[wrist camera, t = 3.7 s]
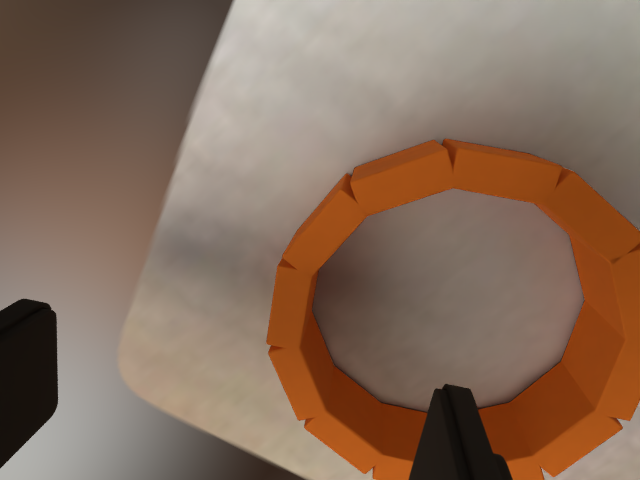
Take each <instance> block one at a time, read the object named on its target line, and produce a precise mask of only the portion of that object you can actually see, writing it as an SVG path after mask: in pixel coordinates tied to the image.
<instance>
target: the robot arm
mask: <svg viewBox="0 0 640 480" xmlns="http://www.w3.org/2000/svg"><path fill="white" fill-rule="evenodd" d="M56 325H57V321H56V313H55V312H54V311H53V310H51V307H50V305H49V304H47V303H43V302H39V301H34V300H29V299H21V300H18V301H17V302H15V303H13V304H12V305H10V306H8V307H6V308H5V309H3V310H1V311H0V468H1V467H2V466H3V465H4V464H5V463H6V462H7V461H8V460H9V459H10V458H11V457H12V456H13V455H14V454H15V453H16V452H17V451H18V450H19V449H20V448H21V447H22V446H23V445H24V444H25V443H26V442H27V441H28V440H29V439H30V438H31V437H32V436H33V435H34V434H35V433H36V432H37V431H38V430H39V429H40V428H41V427H42V426H43V425H44V424H45V423H46V422H47V421H48V420H49V419H50V418H51V417H52V415H53V414H54V412H55V410H56V408H57V404H58V382H57V381H58V377H57V376H58V375H57V326H56ZM409 480H513V478H512V476H511V473H510V470H509V468H508V465H507V463H506V461H505V459H504V457H503V456H501V455H500V454H495V453H493V451H492V448H491V445H490V443H489V440H488V437H487V434H486V431H485V428H484V426H483V423H482V420H481V417H480V414H479V411H478V408H477V406H476V403H475V400H474V397H473V394H472V392H471V390H470V389H469V388H464V387H459V386H454V385H449V384H445V385H444V386H443V388H442V389H437V388H436V389H435V390H434V393H433V396H432V400H431V403H430V406H429V410H428V413H427V417H426V420H425V424H424V427H423V431H422V434H421V437H420V441H419V444H418V448H417V451H416V455H415V458H414V462H413V465H412V468H411V472H410V475H409Z"/></svg>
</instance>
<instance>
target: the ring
mask: <svg viewBox="0 0 640 480" xmlns="http://www.w3.org/2000/svg"><path fill="white" fill-rule="evenodd" d="M452 188H455V189H460V190H466V191H471V192H476V193H482V194H487V195H493V196H498V197H503V198H509V199H514V200H520V201H525V202H530V203H534V204H535V205H536V206H538V207H539V208H540V209H541V210H542V211H543V212H544V213H545V214H546V215H548V216H549V217H550V218H551V219H552V220H553V221H554V222H555V223H557V224H558V225H559V226H560V227H561V228H562V229H563V230H564V231H565V232H567V233H568V234H569V236H570V240H571V244H572V248H573V253H574V257H575V261H576V265H577V269H578V274H579V278H580V282H581V286H582V290H583V295H584V299H585V301H584V303H583V306H582V308H581V311H580V314H579V316H578V319H577V321H576V324H575V326H574V329H573V332H572V334H571V337H570V339H569V342H568V345H567V347H566V350H565V352H564V355H563V357H562V360H561V362H560V363H558V364H557V365H556V366H555V367H553V368H552V369H551V370H550V371H548V372H547V373H546V374H545V375H543V376H542V377H541V378H540V379H538V380H537V381H536V382H535V383H533V384H532V385H531V386H530V387H528V388H527V389H526V390H525V391H523V392H522V393H521V394H520V395H518V396H517V397H516V398H515V399H513V400H512V401H511V402H509V403H505V404H500V405H496V406H491V407H487V408H482V409H478V411H479V414H480V417H481V420H482V423H483V426H484V428H485V431H486V434H487V437H488V440H489V443H490V445H491V448H492V451H493V453H495V454H500V455H501V456H503V457H504V459H505V461H506V463H507V465H508V468H509V470H510V473H511V476H512V478H513V480H544V476H543V473H542V469H544V470H545V471H546V472H547V473H549V474H550V475H551V476H552V477H555V476H557V475H558V474H559V473H561V472H562V471H564V470H565V469H567V468H568V467H569V466H571V465H572V464H574V463H575V462H576V461H578V460H579V459H581V458H582V457H583V456H585V455H586V454H588V453H589V452H591V451H592V450H593V449H595V448H596V447H598V446H599V445H600V444H602V443H603V442H605V441H606V440H608V439H609V438H610V437H612V436H613V435H615V434H616V433H617V432H619V431H620V430H622V429H623V427H622V425H621V424H620V422H619V421H618V420H617V418H618V419H623V420H628V421H630V420H631V418H632V416H633V414H634V412H635V410H636V407H637V405H638V403H639V401H640V231H639V230H638V229H636V228H635V227H634V226H633V225H632V224H631V223H630V222H629V221H628V220H627V219H626V218H624V217H623V216H622V215H621V214H620V213H619V212H618V211H617V210H616V209H615V208H614V207H612V206H611V205H610V204H609V203H608V202H607V201H606V200H605V199H604V198H603V197H602V196H600V195H599V194H598V193H597V192H596V191H595V190H594V189H593V188H592V187H591V186H590V185H588V184H587V183H586V182H585V181H584V180H583V179H582V178H581V177H580V176H579V175H578V174H576V173H575V172H574V171H571V170H569V169H566V168H563V167H562V166H561V165H559V164H556V163H553V162H550V161H548V160H545V159H542V158H539V157H537V156H534V155H531V154H529V153H523V152H517V151H512V150H506V149H501V148H495V147H489V146H484V145H478V144H473V143H467V142H461V141H456V140H450V139H444V140H443V144H442V145H441V144H439V143H438V142H436V141H435V140H431V141H428V142H425V143H423V144H420V145H417V146H414V147H411V148H409V149H406V150H403V151H400V152H397V153H394V154H392V155H389V156H386V157H383V158H380V159H378V160H375V161H372V162H369V163H366V164H363V165H361V166H358V167H355V168H354V171H353V175H352V177H351V176H350V175H349V174H347V173H346V174H345V175H344V176H343V178H342V179H341V180H340V181H339V182H338V183H337V185H336V186H335V187H334V188H333V189H332V190H331V192H330V193H329V194H328V195H327V196H326V197H325V199H324V200H323V201H322V202H321V203H320V204H319V206H318V207H317V208H316V209H315V210H314V211H313V213H312V214H311V215H310V216H309V217H308V218H307V220H306V221H305V222H304V223H303V224H302V225H301V227H300V228H299V229H298V230H297V232H296V233H295V235H294V237H293V238H292V240H291V242H290V243H289V245H288V247H287V248H286V250H285V252H284V253H283V255H282V259H281V261H280V263H279V264H278V266H277V272H276V279H275V286H274V293H273V300H272V307H271V314H270V320H269V327H268V334H267V341H266V343H267V344H268V345H271V347H270V349H269V351H268V354H269V356H270V358H271V361H272V363H273V365H274V367H275V370H276V372H277V374H278V376H279V379H280V381H281V383H282V385H283V388H284V390H285V392H286V394H287V397H288V399H289V401H290V403H291V406H292V408H293V410H294V412H295V415H296V417H297V419H298V420H299V421H300V420H305V419H306V421H305V425H304V428H305V429H306V430H307V431H309V432H310V433H311V434H313V435H314V436H315V437H316V438H318V439H319V440H320V441H322V442H323V443H324V444H326V445H327V446H328V447H330V448H331V449H332V450H333V451H335V452H336V453H337V454H339V455H340V456H341V457H343V458H344V459H345V460H346V461H348V462H349V463H350V464H352V465H353V466H354V467H356V468H357V469H358V470H360V471H361V472H362V473H364V474H366V473H367V472H368V471H369V470H371V469H372V468H373V479H376V480H409V475H410V472H411V468H412V465H413V462H414V458H415V455H416V451H417V448H418V444H419V441H420V437H421V434H422V431H423V427H424V424H425V420H426V417H427V413H425V412H421V411H416V410H411V409H407V408H402V407H398V406H393V405H388V404H384V403H381V402H379V401H378V400H377V399H376V398H374V397H373V396H372V395H370V394H369V393H368V392H367V391H365V390H364V389H363V388H362V387H360V386H359V385H358V384H357V383H355V382H354V381H353V380H352V379H350V378H349V377H348V376H346V375H345V374H344V373H343V372H341V371H340V370H339V369H338V368H336V367H335V366H334V364H333V362H332V359H331V357H330V355H329V352H328V350H327V347H326V345H325V342H324V340H323V337H322V335H321V332H320V330H319V327H318V325H317V323H316V320H315V318H314V315H313V313H312V305H313V300H314V294H315V288H316V283H317V277H318V271H319V269H320V268H321V267H322V266H323V264H324V263H325V262H326V261H327V260H328V259H329V258H330V257H331V256H332V255H333V253H334V252H335V251H336V250H337V249H338V248H339V247H340V246H341V245H342V244H343V242H344V241H345V240H346V239H347V238H348V237H349V236H350V235H351V234H352V232H353V231H354V230H355V229H356V228H357V227H358V226H359V225H360V224H361V223H362V221H363V220H364V219H365V218H366V217H367V216H370V215H373V214H376V213H379V212H382V211H385V210H388V209H391V208H394V207H397V206H400V205H403V204H406V203H409V202H412V201H415V200H418V199H421V198H424V197H427V196H430V195H434V194H437V193H440V192H443V191H446V190H449V189H452ZM541 468H542V469H541Z"/></svg>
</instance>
